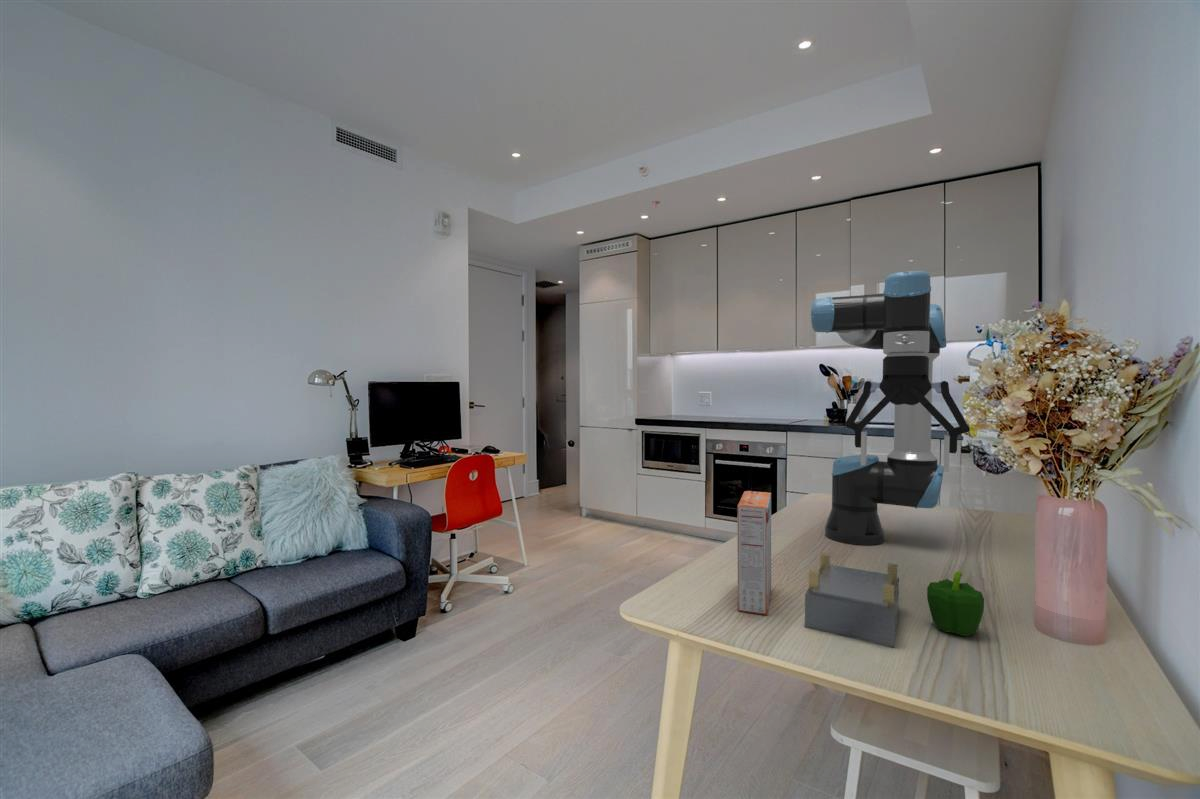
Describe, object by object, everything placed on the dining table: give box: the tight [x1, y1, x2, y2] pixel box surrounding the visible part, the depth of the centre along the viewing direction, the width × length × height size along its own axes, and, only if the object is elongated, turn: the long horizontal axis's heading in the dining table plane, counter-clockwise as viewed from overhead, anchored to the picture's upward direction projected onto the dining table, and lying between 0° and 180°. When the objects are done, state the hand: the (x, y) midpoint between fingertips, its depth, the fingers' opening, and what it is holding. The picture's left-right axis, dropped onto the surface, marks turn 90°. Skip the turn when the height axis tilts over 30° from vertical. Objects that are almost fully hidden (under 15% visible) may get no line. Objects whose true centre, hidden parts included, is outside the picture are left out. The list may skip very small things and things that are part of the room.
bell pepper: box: [926, 571, 985, 637], centre depth 94 cm, size 8×8×10 cm
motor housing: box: [804, 552, 900, 648], centre depth 100 cm, size 21×14×9 cm, turn 148°
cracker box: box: [736, 490, 772, 616], centre depth 106 cm, size 14×6×21 cm, turn 159°
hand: (903, 467), depth 100 cm, fingers open, 13 cm apart
